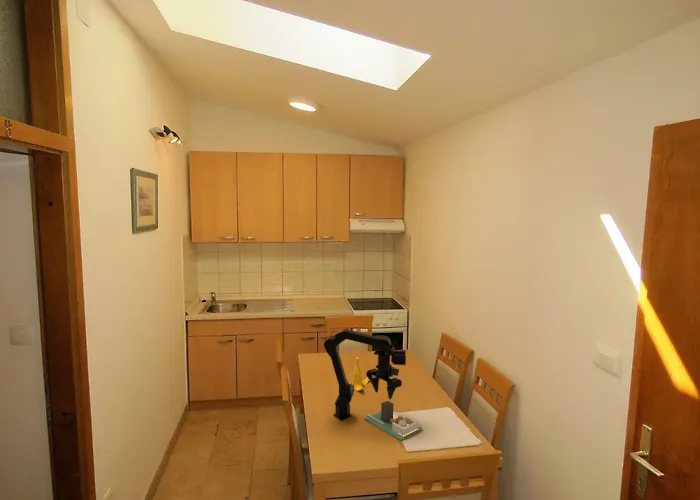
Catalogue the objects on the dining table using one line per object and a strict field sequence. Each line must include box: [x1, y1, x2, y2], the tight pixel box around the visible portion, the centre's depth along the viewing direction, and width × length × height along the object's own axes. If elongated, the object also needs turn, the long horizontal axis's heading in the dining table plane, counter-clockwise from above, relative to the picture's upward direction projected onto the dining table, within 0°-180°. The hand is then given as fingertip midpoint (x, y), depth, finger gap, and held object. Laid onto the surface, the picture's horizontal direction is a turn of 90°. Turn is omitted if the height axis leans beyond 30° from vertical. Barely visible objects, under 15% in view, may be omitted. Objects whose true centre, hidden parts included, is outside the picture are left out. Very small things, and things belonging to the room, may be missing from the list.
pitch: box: [363, 410, 423, 442], centre depth 193 cm, size 14×24×4 cm, turn 39°
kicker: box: [380, 400, 404, 424], centre depth 193 cm, size 6×9×8 cm, turn 39°
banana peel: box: [348, 356, 370, 392], centre depth 236 cm, size 16×19×17 cm
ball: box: [398, 420, 407, 428], centre depth 188 cm, size 4×4×4 cm
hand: (383, 395), depth 196 cm, fingers open, 9 cm apart
